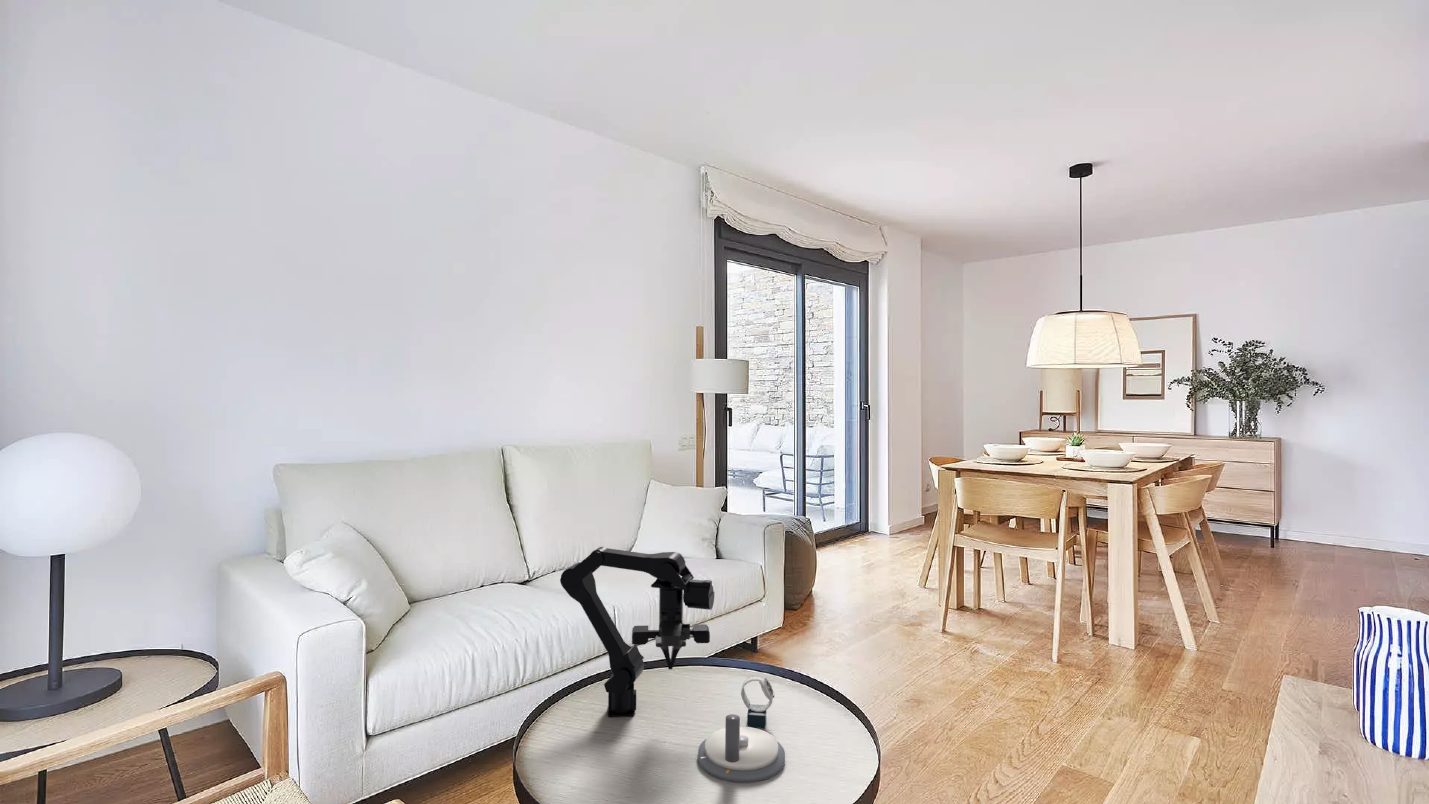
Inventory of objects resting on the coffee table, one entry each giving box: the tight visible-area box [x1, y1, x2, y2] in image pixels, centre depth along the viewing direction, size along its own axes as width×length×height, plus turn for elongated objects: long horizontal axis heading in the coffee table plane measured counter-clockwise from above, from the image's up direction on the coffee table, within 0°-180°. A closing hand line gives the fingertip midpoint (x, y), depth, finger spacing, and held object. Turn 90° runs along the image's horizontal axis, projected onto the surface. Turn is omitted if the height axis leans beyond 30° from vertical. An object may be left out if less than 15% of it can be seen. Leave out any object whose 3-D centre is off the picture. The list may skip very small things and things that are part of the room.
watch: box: [740, 675, 775, 729], centre depth 177 cm, size 6×8×11 cm
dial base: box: [697, 738, 786, 784], centre depth 161 cm, size 19×19×2 cm
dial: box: [705, 714, 778, 771], centre depth 160 cm, size 16×16×10 cm
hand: (670, 668), depth 179 cm, fingers closed
